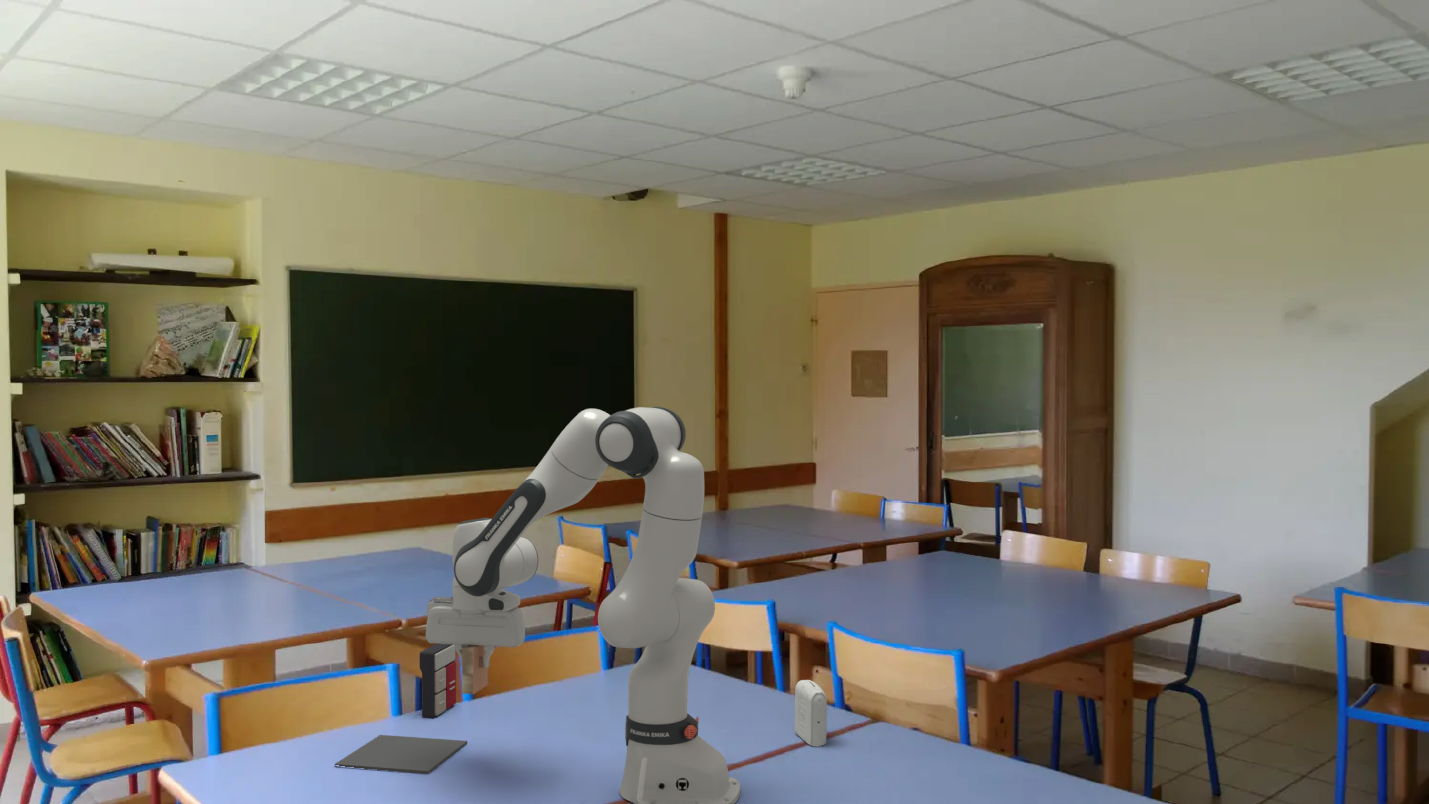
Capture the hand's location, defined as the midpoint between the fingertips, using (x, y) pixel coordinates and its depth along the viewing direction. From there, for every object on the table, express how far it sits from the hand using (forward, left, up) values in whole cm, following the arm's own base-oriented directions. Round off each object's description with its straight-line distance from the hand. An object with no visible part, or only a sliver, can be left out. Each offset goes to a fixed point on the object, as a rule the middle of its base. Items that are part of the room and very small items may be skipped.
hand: (475, 666), depth 212 cm
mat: (+16, 0, -19) cm, 25 cm away
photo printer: (-65, -26, -19) cm, 73 cm away
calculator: (+22, -29, -19) cm, 41 cm away
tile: (0, 0, -4) cm, 4 cm away
